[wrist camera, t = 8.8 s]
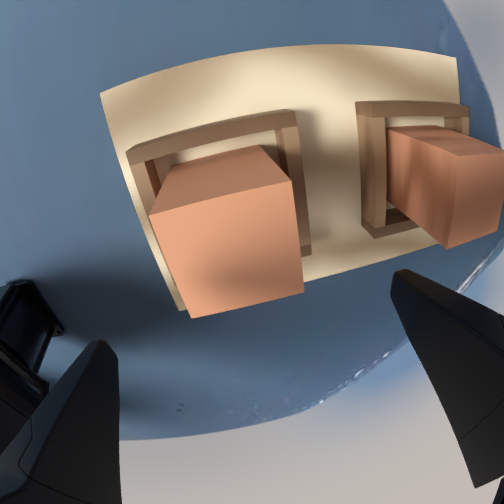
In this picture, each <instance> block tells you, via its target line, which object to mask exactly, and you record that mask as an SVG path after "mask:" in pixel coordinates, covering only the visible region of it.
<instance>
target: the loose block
mask: <svg viewBox="0 0 504 504" xmlns="http://www.w3.org/2000/svg"><path fill="white" fill-rule="evenodd" d="M149 218H150V221H151V224H152V226H153V229H154V232H155V234H156V237H157V239H158V242H159V244H160V247H161V249H162V252H163V254H164V257H165V259H166V262H167V264H168V266H169V269H170V271H171V274H172V276H173V278H174V281H175V283H176V285H177V287H178V290H179V292H180V294H181V296H182V299H183V301H184V303H185V305H186V307H187V310H188V312H189V314H190V316H191V318H197V317H201V316H206V315H211V314H215V313H220V312H224V311H229V310H233V309H238V308H242V307H246V306H251V305H255V304H259V303H263V302H267V301H271V300H275V299H279V298H283V297H287V296H291V295H295V294H299V293H303V292H305V291H304V280H303V270H302V261H301V252H300V243H299V235H298V227H297V219H296V211H295V203H294V196H293V189H292V182H291V180H290V179H289V177H288V176H287V175H286V174H285V173H284V172H283V171H282V170H281V169H280V167H279V166H278V165H277V164H276V163H275V162H274V161H273V160H272V159H271V158H270V157H269V156H268V154H267V153H266V152H265V151H264V150H263V149H262V148H261V147H260V146H259V145H253V146H248V147H244V148H239V149H235V150H230V151H226V152H222V153H217V154H213V155H209V156H205V157H201V158H198V159H194V160H190V161H186V162H183V163H179V164H176V165H172V166H171V168H170V170H169V172H168V174H167V176H166V178H165V181H164V183H163V185H162V187H161V189H160V191H159V193H158V196H157V198H156V200H155V202H154V204H153V207H152V209H151V211H150V213H149Z"/></svg>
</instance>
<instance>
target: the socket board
mask: <svg viewBox="0 0 504 504" xmlns="http://www.w3.org/2000/svg"><path fill="white" fill-rule="evenodd" d="M100 96H101V100H102V104H103V108H104V112H105V115H106V119H107V123H108V126H109V130H110V133H111V137H112V140H113V143H114V146H115V150H116V153H117V156H118V159H119V162H120V165H121V168H122V172H123V174H124V177H125V180H126V183H127V186H128V189H129V192H130V195H131V197H132V200H133V203H134V206H135V208H136V211H137V214H138V216H139V219H140V222H141V224H142V227H143V229H144V232H145V234H146V237H147V239H148V242H149V244H150V247H151V249H152V252H153V254H154V256H155V259H156V261H157V263H158V266H159V268H160V270H161V273H162V275H163V277H164V279H165V282H166V284H167V286H168V288H169V290H170V293H171V295H172V297H173V299H174V301H175V303H176V306H177V308H178V310H179V311H182V310H186V309H187V307H186V305H185V303H184V301H183V299H182V296H181V294H180V292H179V290H178V287H177V285H176V283H175V281H174V278H173V276H172V274H171V271H170V269H169V266H168V264H167V262H166V259H165V257H164V254H163V252H162V249H161V247H160V244H159V242H158V239H157V237H156V234H155V232H154V229H153V226H152V224H151V221H150V218H149V213H150V211H151V209H152V207H153V204H154V202H155V200H156V198H157V196H158V193H159V191H160V189H161V187H162V185H163V183H164V181H165V178H166V176H167V174H168V172H169V170H170V168H171V166H172V165H176V164H179V163H183V162H186V161H190V160H194V159H198V158H201V157H205V156H209V155H213V154H217V153H222V152H226V151H230V150H235V149H239V148H244V147H248V146H253V145H259V146H260V147H261V148H262V149H263V150H264V151H265V152H266V153H267V154H268V156H269V157H270V158H271V159H272V160H273V161H274V162H275V163H276V164H277V165H278V166H279V167H280V169H281V170H282V171H283V172H284V173H285V174H286V175H287V176H288V177H289V179H290V180H291V182H292V189H293V196H294V203H295V211H296V219H297V227H298V235H299V243H300V252H301V261H302V270H303V280H304V282H307V281H311V280H314V279H318V278H322V277H326V276H330V275H333V274H337V273H341V272H344V271H348V270H352V269H355V268H359V267H362V266H366V265H370V264H373V263H376V262H380V261H383V260H387V259H390V258H394V257H397V256H400V255H404V254H407V253H410V252H413V251H417V250H420V249H423V248H426V247H430V246H433V245H436V244H439V243H440V244H441V245H442V246H443V247H444V248H445V249H449V248H452V247H455V246H458V245H460V244H463V243H466V242H469V241H472V240H474V239H477V238H480V237H483V236H485V235H488V234H490V233H493V232H496V231H497V229H498V225H499V220H500V215H501V211H502V206H503V200H504V150H502V149H500V148H497V147H495V146H493V145H490V144H488V143H485V142H483V141H480V140H478V139H475V138H472V137H470V136H469V107H468V106H464V105H460V97H459V83H458V72H457V63H456V58H454V57H449V56H445V55H440V54H434V53H429V52H423V51H417V50H410V49H402V48H394V47H383V46H370V45H343V44H328V45H301V46H287V47H276V48H267V49H259V50H252V51H245V52H239V53H233V54H228V55H222V56H217V57H212V58H208V59H203V60H199V61H195V62H191V63H187V64H183V65H179V66H176V67H172V68H169V69H165V70H162V71H159V72H156V73H152V74H149V75H146V76H143V77H140V78H138V79H135V80H132V81H129V82H127V83H124V84H121V85H119V86H116V87H114V88H111V89H109V90H106V91H104V92H102V93H100Z"/></svg>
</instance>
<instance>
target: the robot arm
mask: <svg viewBox="0 0 504 504" xmlns="http://www.w3.org/2000/svg"><path fill="white" fill-rule="evenodd" d="M390 295H391V299H392V302H393V304H394V306H395V308H396V311H397V313H398V315H399V317H400V320H401V322H402V324H403V327H404V329H405V332H406V334H407V336H408V338H409V340H410V342H411V344H412V346H413V348H414V350H415V351H416V354H417V355H418V357H419V359H420V361H421V363H422V365H423V367H424V369H425V371H426V373H427V375H428V377H429V379H430V381H431V383H432V385H433V387H434V389H435V391H436V393H437V395H438V397H439V400H440V402H441V404H442V406H443V408H444V410H445V413H446V414H447V417H448V419H449V422H450V424H451V426H452V429H453V431H454V434H455V436H456V438H457V441H458V444H459V446H460V449H461V451H462V454H463V457H464V459H465V462H466V465H467V468H468V470H469V473H470V476H471V479H472V482H473V485H474V487H475V488H478V487H480V486H482V485H485V484H487V483H489V482H491V481H493V480H495V479H497V478H499V477H501V476H503V475H504V316H503V315H501V314H498V313H497V312H495V311H493V310H491V309H489V308H488V307H486V306H484V305H482V304H480V303H478V302H476V301H474V300H472V299H470V298H467V297H465V296H463V295H461V294H459V293H457V292H455V291H453V290H451V289H449V288H447V287H445V286H443V285H440V284H438V283H436V282H434V281H432V280H430V279H428V278H425V277H423V276H421V275H419V274H417V273H415V272H412V271H410V270H408V269H402V270H399V271H396V272H394V274H393V278H392V285H391V291H390ZM63 334H64V329H63V327H62V326H61V325H60V323H59V322H58V320H57V319H56V318H55V316H54V315H53V313H52V312H51V311H50V309H49V308H48V306H47V305H46V303H45V302H44V300H43V299H42V297H41V296H40V294H39V292H38V291H37V289H36V288H35V286H34V284H33V283H32V282H31V281H29V280H27V281H24V282H21V283H17V284H8V285H5V286H2V287H0V504H122V498H121V485H120V465H119V413H120V396H119V373H118V358H117V356H116V354H115V353H114V351H113V350H112V349H111V347H110V346H109V345H108V343H107V342H106V341H105V340H104V339H97V340H92V341H91V342H90V343H89V344H88V346H87V347H86V348H85V349H84V350H83V351H82V353H81V354H80V355H79V356H78V357H77V359H76V360H75V361H74V362H73V364H72V365H71V366H70V367H69V368H68V370H67V371H66V372H65V373H64V375H63V376H62V377H61V378H60V380H59V381H58V382H57V383H56V385H55V386H54V387H53V388H52V390H51V391H50V392H49V383H48V382H47V381H46V380H43V379H42V378H41V377H39V376H38V375H37V374H38V372H39V369H40V366H41V363H42V361H43V358H44V356H45V353H46V350H47V348H48V345H49V343H50V341H51V338H52V337H56V336H62V335H63ZM493 504H504V477H503V478H502V479H501V481H500V484H499V487H498V490H497V494H496V496H495V499H494V501H493Z"/></svg>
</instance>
